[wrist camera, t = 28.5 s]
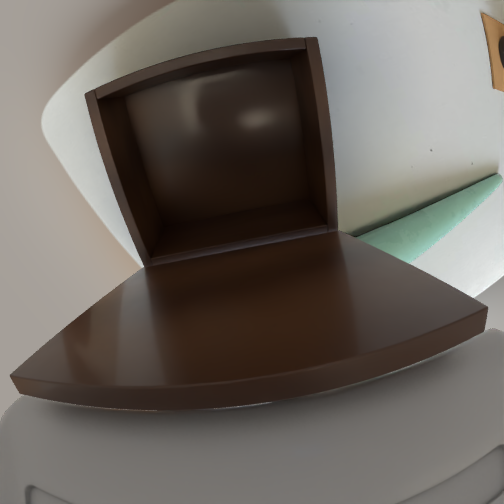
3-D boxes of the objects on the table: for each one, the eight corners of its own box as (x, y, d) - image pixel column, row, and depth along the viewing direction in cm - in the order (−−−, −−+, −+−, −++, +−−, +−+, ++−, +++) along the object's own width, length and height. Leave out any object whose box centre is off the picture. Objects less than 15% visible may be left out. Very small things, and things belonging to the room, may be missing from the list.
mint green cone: (524, 211, 20) (347, 317, 25) (497, 192, 24) (331, 281, 29) (527, 172, 17) (332, 279, 22) (496, 156, 22) (315, 244, 27)
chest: (117, 91, 17) (83, 93, 13) (296, 49, 17) (317, 36, 12) (160, 232, 25) (145, 269, 20) (316, 201, 24) (338, 232, 19)
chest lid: (8, 375, 6) (19, 394, 6) (489, 306, 5) (484, 332, 5) (142, 267, 19) (145, 277, 20) (339, 230, 19) (340, 241, 19)
